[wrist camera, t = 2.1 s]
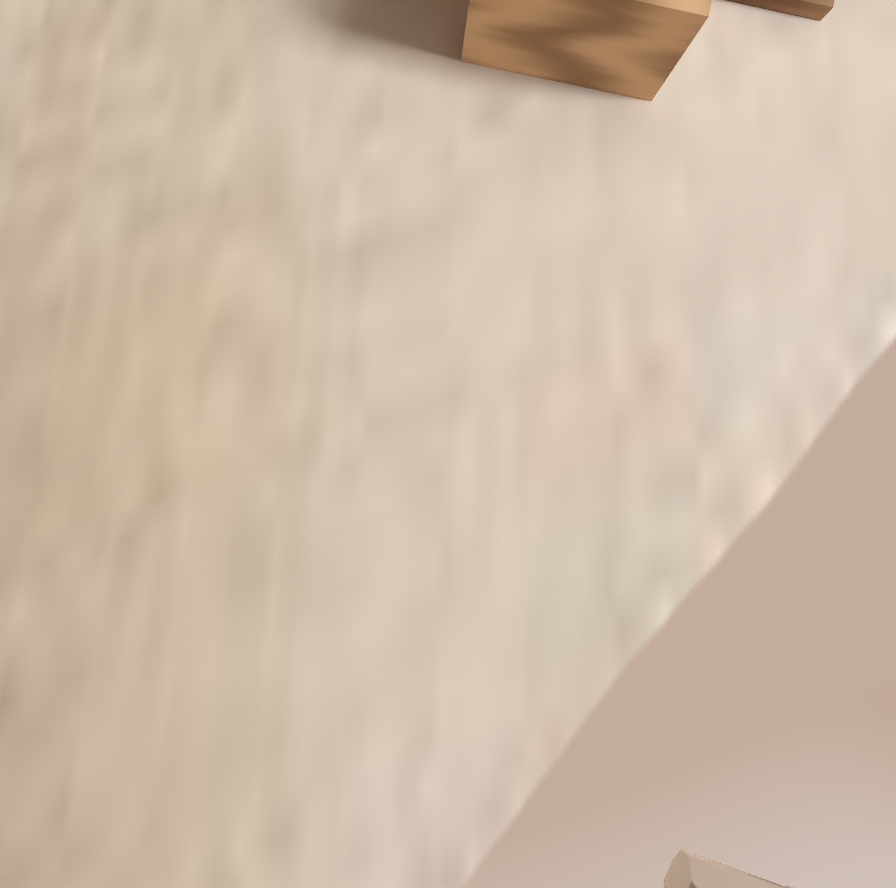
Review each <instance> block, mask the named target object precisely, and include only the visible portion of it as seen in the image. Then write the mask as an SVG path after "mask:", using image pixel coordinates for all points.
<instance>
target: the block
mask: <svg viewBox="0 0 896 888" xmlns="http://www.w3.org/2000/svg"><path fill="white" fill-rule="evenodd" d="M710 6H711V0H469V4H468V12H467V20H466V27H465V35H464V43H463V50H462V58H461V61H463V62H467V63H472V64H477V65H482V66H486V67H491V68H496V69H501V70H506V71H510V72H515V73H520V74H525V75H529V76H534V77H539V78H544V79H548V80H553V81H558V82H563V83H568V84H572V85H577V86H582V87H587V88H591V89H596V90H601V91H606V92H610V93H615V94H620V95H625V96H630V97H634V98H639V99H644V100H649V101H652V99H653V98H654V96H655V95H656V93H657V92H658V90H659V89H660V88H661V86H662V85H663V83H664V82H665V80H666V79H667V77H668V76H669V74H670V73H671V71H672V70H673V68H674V67H675V65H676V64H677V62H678V61H679V59H680V58H681V56H682V55H683V53H684V52H685V51H686V49H687V48H688V46H689V45H690V43H691V42H692V40H693V39H694V37H695V36H696V34H697V33H698V31H699V30H700V28H701V27H702V25H703V24H704V22H705V21H706V19H707V18H708V17H709V11H710Z"/></svg>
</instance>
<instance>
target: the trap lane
mask: <svg viewBox="0 0 896 888" xmlns="http://www.w3.org/2000/svg"><path fill="white" fill-rule="evenodd" d="M729 1H734V2H738V3H743V4H747V5H752V6H757V7H761V8H766V9H770V10H775V11H780V12H784V13H789V14H794V15H798V16H803V17H807V18H812V19H817V20H822V19H823V17H824V16H825V15H826V14H827V13H828V12H829V11H830V10H831V9H832V8H833V4H834V0H729Z"/></svg>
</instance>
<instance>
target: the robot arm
mask: <svg viewBox="0 0 896 888" xmlns="http://www.w3.org/2000/svg"><path fill="white" fill-rule="evenodd" d="M664 888H792V887H789V886H785V887H783V886H781V885H779V884H776V883H773V882H770V881H768V880H765V879H762V878H759V877H756V876H753V875H751V874H748V873H745V872H742V871H740V870H737V869H734V868H732V867H728V866H726V865H723V864H721V863H718V862H715V861H712V860H709V859H707V858H704V857H701V856H698V855H696V854H693V853H690V852H687V851H684V850H680V852H679V853H678V854H677V855H676V857H675V858H674V859H673V861H672V863H671V866H670V868H669V870H668V873H667V875H666V877H665V879H664Z"/></svg>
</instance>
